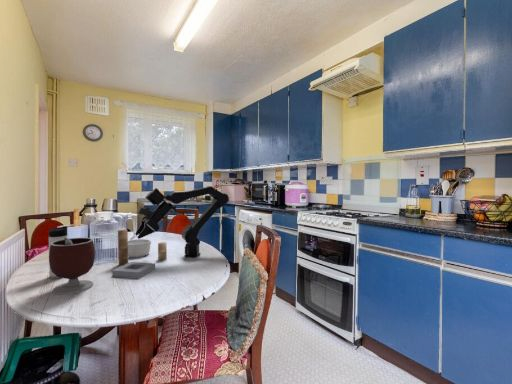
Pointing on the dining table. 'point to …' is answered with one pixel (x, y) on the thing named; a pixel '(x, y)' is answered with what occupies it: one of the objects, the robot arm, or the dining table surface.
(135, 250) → the ramekin
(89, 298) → the dining table surface
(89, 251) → the mate gourd
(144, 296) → the dining table surface
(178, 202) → the robot arm
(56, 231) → the travel mug
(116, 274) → the socket board
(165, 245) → the short beech pin
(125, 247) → the walnut pin
